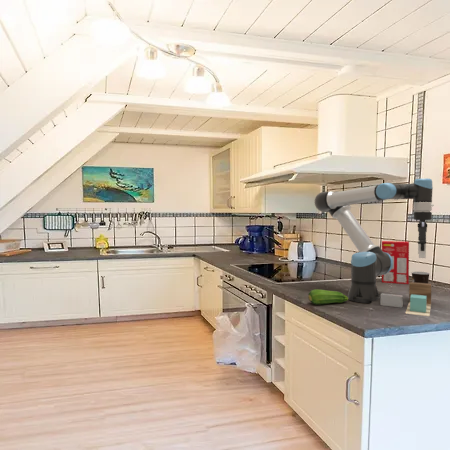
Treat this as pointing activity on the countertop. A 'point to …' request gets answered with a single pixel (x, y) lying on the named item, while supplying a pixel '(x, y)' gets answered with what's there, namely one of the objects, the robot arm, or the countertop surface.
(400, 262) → the food packaging
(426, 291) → the wooden l-shaped stand
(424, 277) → the coffee mug
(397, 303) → the gray rectangular block
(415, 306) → the teal block
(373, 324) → the countertop surface
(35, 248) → the countertop surface
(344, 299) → the vegetable
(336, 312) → the countertop surface
